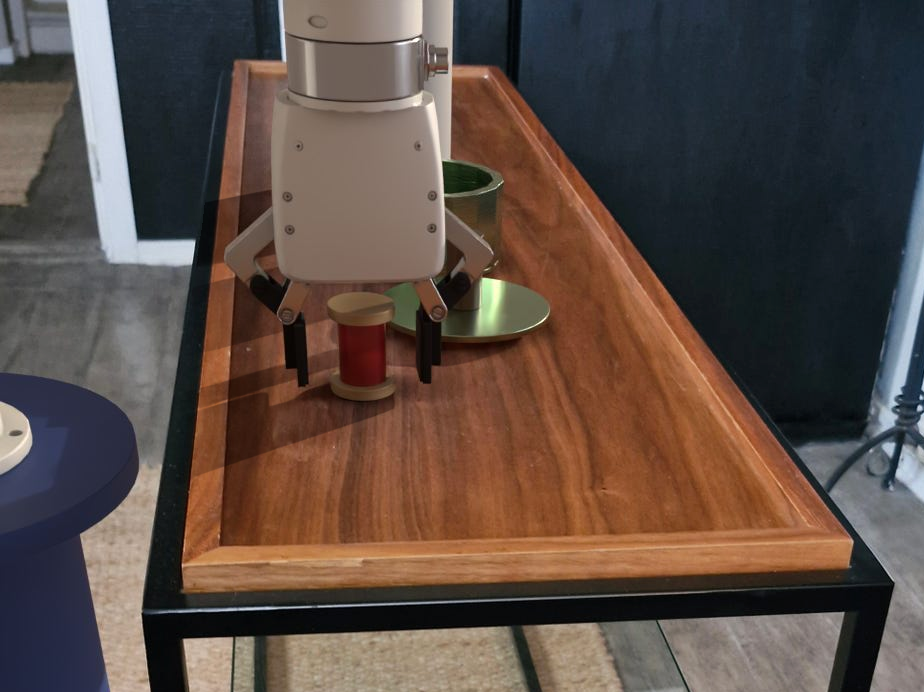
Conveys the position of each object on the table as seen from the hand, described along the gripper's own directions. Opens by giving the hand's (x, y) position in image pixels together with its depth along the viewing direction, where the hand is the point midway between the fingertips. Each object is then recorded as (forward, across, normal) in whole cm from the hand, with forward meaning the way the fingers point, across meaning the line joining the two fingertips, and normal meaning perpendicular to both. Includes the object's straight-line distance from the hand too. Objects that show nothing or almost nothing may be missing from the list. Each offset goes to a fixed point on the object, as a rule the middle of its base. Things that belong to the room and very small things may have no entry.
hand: (363, 375), depth 79 cm
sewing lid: (0, -8, -12) cm, 15 cm away
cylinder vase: (+1, -5, -47) cm, 47 cm away
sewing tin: (+1, -7, -26) cm, 27 cm away
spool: (+1, 0, 0) cm, 1 cm away
